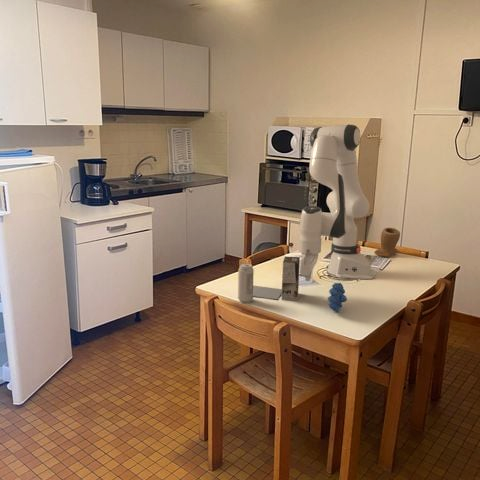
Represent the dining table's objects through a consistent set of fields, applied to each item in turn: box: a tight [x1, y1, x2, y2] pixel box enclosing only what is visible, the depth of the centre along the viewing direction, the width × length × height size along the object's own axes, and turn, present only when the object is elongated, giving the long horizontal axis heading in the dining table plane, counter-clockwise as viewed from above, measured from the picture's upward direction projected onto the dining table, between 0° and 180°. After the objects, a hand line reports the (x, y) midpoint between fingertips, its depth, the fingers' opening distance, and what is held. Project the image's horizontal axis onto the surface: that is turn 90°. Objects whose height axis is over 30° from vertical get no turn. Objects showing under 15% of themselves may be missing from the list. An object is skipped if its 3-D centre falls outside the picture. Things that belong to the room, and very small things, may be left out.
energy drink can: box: [237, 263, 255, 304], centre depth 194 cm, size 6×6×15 cm
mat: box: [253, 285, 282, 301], centre depth 204 cm, size 16×12×1 cm
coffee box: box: [280, 256, 301, 302], centre depth 199 cm, size 9×6×16 cm
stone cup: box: [374, 227, 401, 258], centre depth 261 cm, size 15×12×15 cm
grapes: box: [327, 282, 348, 313], centre depth 184 cm, size 12×7×12 cm, turn 144°
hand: (308, 279), depth 197 cm, fingers closed
